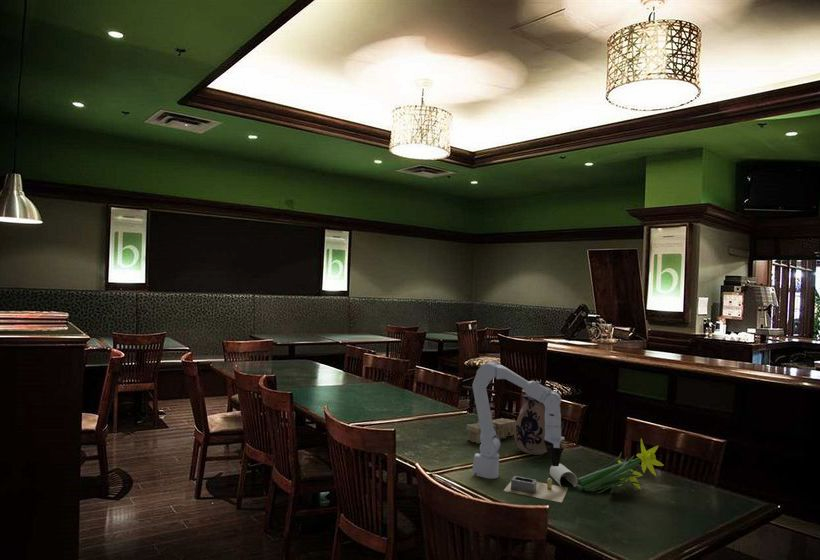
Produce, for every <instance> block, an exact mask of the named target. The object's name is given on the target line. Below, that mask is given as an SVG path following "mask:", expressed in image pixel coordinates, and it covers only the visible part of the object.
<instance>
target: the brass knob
mask: <svg viewBox="0 0 820 560" xmlns="http://www.w3.org/2000/svg"><path fill="white" fill-rule="evenodd" d="M546 481H547V482H546V484H547V489H549V490H551V489H552V485H553V478H552V477H549V478H547V479H546Z"/></svg>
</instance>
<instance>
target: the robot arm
mask: <svg viewBox="0 0 820 560" xmlns="http://www.w3.org/2000/svg"><path fill="white" fill-rule="evenodd" d="M494 379H496V380H507V381H508V382H511V383H512V384H514V385H516V386H518V387H519V388H521V389H523V390H524V392H525V394H527V395H529V396H531V397H532V398H534V399H536V400H537V401H539V402H541V403H544V406H545V440H543V441H544V443H545V446H546V449H547V452H546V453H547V454H546V455H547V458H548V460H549V461H551V466H559V463H561V462H560V461H561V458H562V454H563V452H564V449H565V447H564V446H560V444H561V442H562V441H565V437H564V436H562V419H561V418H562V417H561V416H562V414H561V401H562V397H561V394H560V393H559V392H557V391H556V390H552V388H550V387H549V388H547V387H546V386H544V385H542V383H541V382H540V381H539V380H536V381H535V380H530V381H528V380H527V379H525V378H524V377H522V376H521V375H518V374H517V373H516V372H514V371H513V370H511V369H509V368H508V367H506V366H504V365H502V364H500V363H498V362H496V361H494V360H492V361H488V362H486V363H484V364H482V365H481V366H480V367H479V368H478V369H477V370H476V374H475V376H474V379H473V382H472V387H471V388H472V391H473V397H474V402H475V408H476V412H477V413H476V414H477V419H478V423H479V424H480V430H481V435H480V441H481V444H479V452H480V453H477V452H476V453H475V454H474V456H473V461H472V462H473V463H472V475H471V476H472V477H474V476H477V477H481V478H485V479H491V480H492V479H497V478H499V469H500V468H499V467H500V454H499V450H500V448H501V439H499V438H498V437H497V435H496V431H495V430H494V427H493V422H492V420H493V417H492V412H491V407H490V403H489V402H490V401H489V397H488V391H487V390H488V389H487V387H488V385H489V384H490V383H491V381H493V380H494ZM540 383H541V384H540Z"/></svg>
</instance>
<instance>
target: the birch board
mask: <svg viewBox="0 0 820 560" xmlns="http://www.w3.org/2000/svg"><path fill="white" fill-rule="evenodd" d="M561 486H562V485H561ZM561 486H560V485H555V484H552V489H551V490H549V489H547V482H546V483H544V482H539V481H537V484H536V491H535V492H534V494H530V493H525V492H520V491H515V490H511V481H510V482H509V483H508V484H507V485H506V487H505V488H504V490H503V492H508V493H513V494H518V495H523V496H527V497H532V498H537V499H542V500H545V501H546V500H547V501H551V502H557V503H563V501H564V498H565V496H566V494H567V492H568V489H569V487H566V486H562V487H561Z"/></svg>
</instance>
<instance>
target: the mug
mask: <svg viewBox="0 0 820 560" xmlns="http://www.w3.org/2000/svg"><path fill="white" fill-rule="evenodd" d="M549 474H550V476H551V478H552V479H553V480H554V481H555V482H556V483H557V484H558V486H561V487H563V486H562V484H561V478H565V479H566V481H568V482H569V483H570V484H571V485H572V486H573V488H576V487H580V485H577V483H578V477H577V476H576V474H575V473H573V472H572V471H571V470H570V469H568V468H567V467H566V465H564V464H562V463H561V462H559V466H552V465H551V466H550V468H549Z"/></svg>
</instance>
